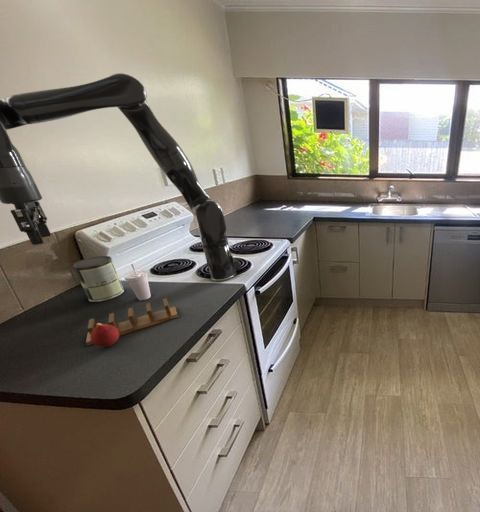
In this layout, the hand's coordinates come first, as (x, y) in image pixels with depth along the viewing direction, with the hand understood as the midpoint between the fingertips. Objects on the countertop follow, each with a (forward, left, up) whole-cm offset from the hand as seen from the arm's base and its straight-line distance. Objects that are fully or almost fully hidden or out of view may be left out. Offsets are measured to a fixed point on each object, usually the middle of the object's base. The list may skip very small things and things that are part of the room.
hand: (42, 240), depth 84 cm
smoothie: (-17, -3, -28) cm, 33 cm away
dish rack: (-14, +17, -28) cm, 35 cm away
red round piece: (-8, +24, -28) cm, 38 cm away
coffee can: (-6, -15, -28) cm, 32 cm away
